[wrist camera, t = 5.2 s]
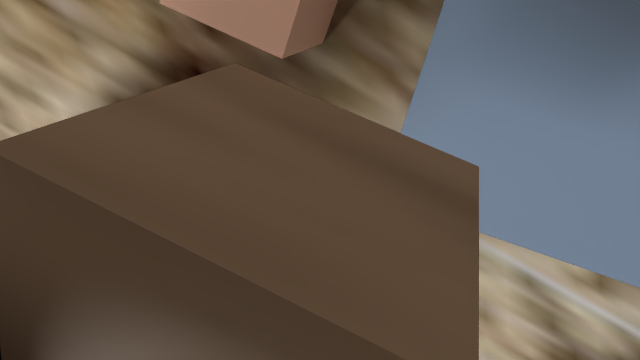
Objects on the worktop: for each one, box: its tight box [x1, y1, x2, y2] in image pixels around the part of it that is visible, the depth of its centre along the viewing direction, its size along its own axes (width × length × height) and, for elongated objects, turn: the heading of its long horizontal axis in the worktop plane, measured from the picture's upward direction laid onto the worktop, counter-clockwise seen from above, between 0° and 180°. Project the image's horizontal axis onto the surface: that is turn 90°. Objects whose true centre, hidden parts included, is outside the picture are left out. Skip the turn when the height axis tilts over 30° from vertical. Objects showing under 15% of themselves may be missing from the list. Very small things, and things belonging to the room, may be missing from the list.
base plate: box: [401, 0, 640, 288], centre depth 17 cm, size 12×13×1 cm
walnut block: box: [0, 63, 479, 360], centre depth 8 cm, size 8×5×5 cm, turn 162°
